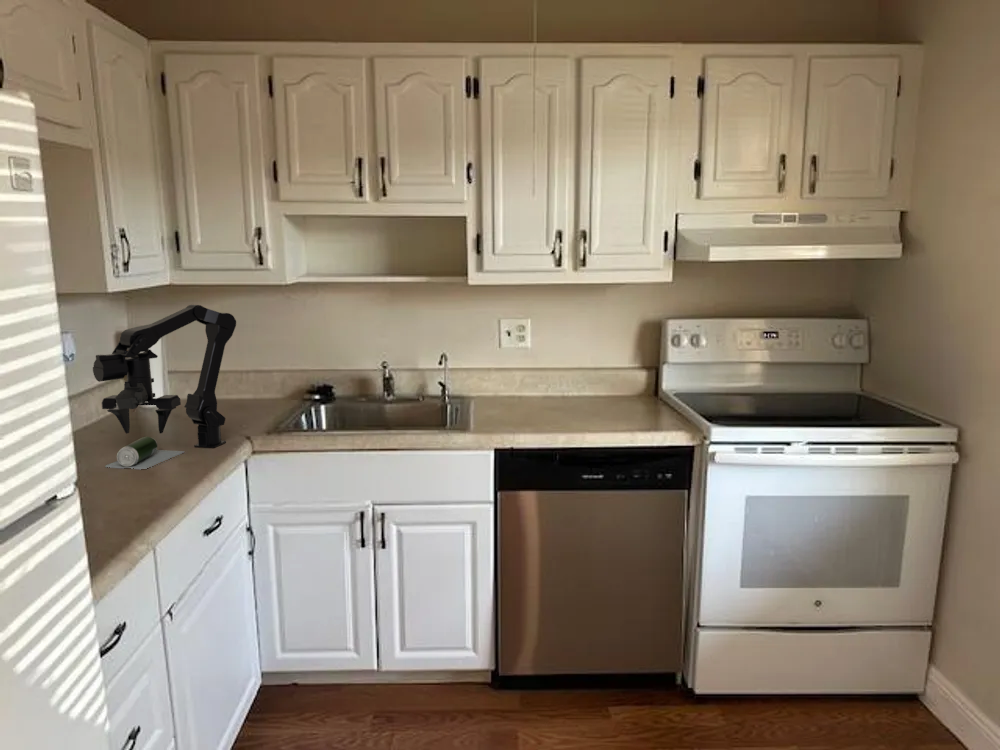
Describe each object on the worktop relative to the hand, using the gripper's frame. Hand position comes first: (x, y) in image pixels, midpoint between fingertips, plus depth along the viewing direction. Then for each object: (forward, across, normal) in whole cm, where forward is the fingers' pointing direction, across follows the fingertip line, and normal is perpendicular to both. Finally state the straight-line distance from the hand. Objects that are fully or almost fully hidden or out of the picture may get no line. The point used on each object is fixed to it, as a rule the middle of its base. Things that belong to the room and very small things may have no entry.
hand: (144, 433), depth 188 cm
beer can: (+4, -1, +4) cm, 6 cm away
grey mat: (+8, 0, 0) cm, 8 cm away
